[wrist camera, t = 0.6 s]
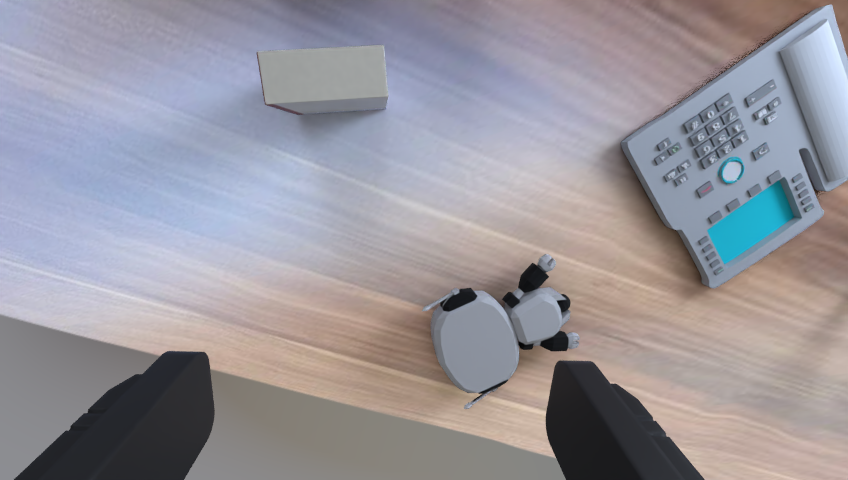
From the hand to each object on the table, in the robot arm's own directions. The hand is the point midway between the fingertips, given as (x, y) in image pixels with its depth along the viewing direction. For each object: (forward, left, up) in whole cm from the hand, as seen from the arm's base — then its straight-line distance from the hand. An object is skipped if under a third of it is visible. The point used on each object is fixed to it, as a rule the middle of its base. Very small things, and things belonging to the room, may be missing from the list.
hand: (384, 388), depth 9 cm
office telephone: (-1, +39, -31) cm, 50 cm away
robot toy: (+14, +11, -31) cm, 36 cm away
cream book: (-10, -3, -31) cm, 33 cm away
